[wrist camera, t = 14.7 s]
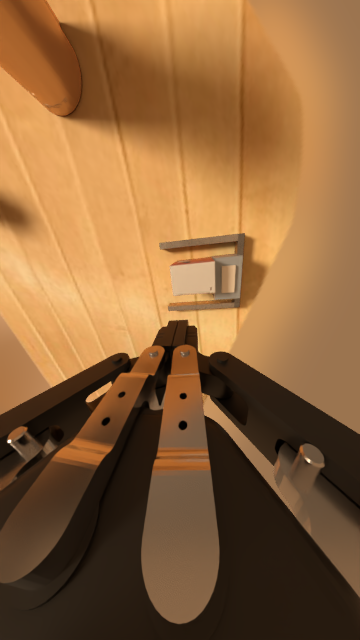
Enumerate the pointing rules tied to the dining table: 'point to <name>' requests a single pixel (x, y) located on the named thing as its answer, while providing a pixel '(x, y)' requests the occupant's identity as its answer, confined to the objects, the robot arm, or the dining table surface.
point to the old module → (228, 276)
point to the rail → (203, 241)
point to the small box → (193, 276)
